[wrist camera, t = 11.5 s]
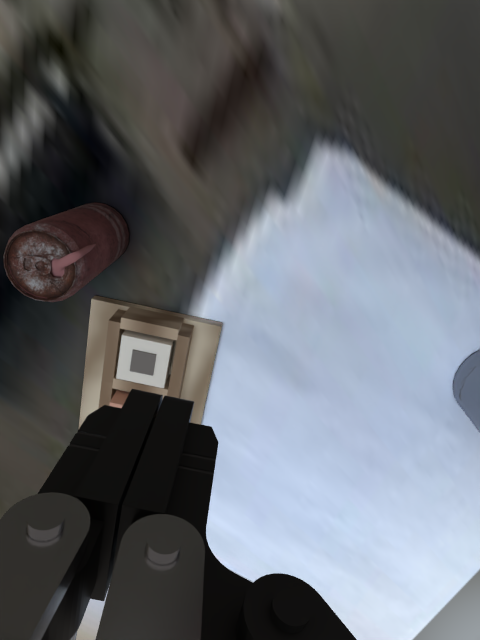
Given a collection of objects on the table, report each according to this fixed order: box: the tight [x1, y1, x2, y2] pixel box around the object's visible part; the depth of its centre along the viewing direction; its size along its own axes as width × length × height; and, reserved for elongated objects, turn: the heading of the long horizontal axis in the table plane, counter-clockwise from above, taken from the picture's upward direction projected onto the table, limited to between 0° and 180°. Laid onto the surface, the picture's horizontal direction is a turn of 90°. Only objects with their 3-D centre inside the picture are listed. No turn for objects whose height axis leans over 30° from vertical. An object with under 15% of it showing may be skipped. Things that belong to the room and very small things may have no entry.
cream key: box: [116, 330, 175, 388], centre depth 47 cm, size 5×5×3 cm
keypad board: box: [79, 295, 222, 428], centre depth 51 cm, size 14×22×4 cm, turn 168°
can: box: [4, 202, 129, 302], centre depth 40 cm, size 6×6×14 cm
